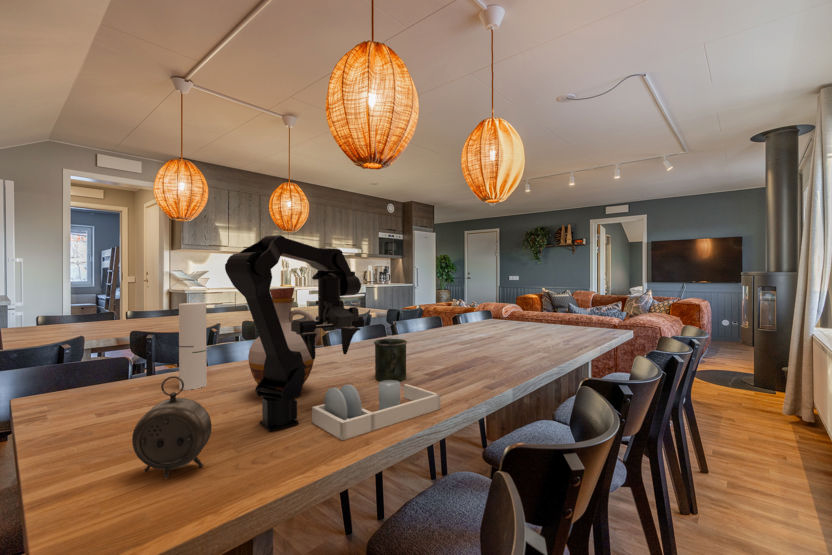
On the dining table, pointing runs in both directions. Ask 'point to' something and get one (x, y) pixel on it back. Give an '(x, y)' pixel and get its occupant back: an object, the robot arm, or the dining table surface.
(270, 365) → the robot arm
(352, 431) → the dish rack
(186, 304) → the cylindrical container
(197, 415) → the alarm clock
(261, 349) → the jug
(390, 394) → the grey rectangular slab
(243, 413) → the dining table surface
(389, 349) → the mug
